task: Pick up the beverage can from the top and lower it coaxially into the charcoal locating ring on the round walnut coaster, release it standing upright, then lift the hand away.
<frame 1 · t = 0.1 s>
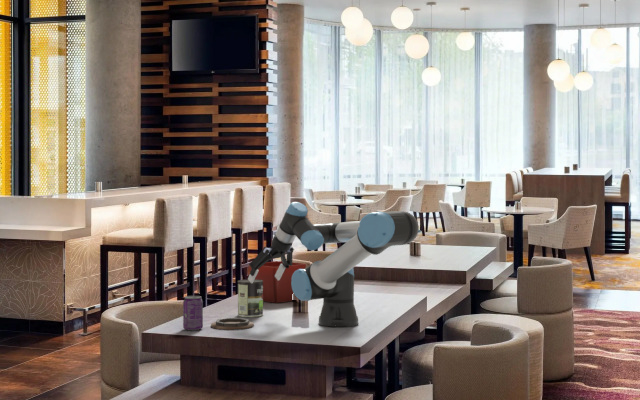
hand: (263, 279, 330), 15 cm above the table, tool tilted 35°, fingers open, 13 cm apart
plant pot: (277, 301, 378), on the table
coaster: (232, 326, 312), on the table
coffee can: (250, 315, 337), on the table
beverage can: (193, 330, 305), on the table
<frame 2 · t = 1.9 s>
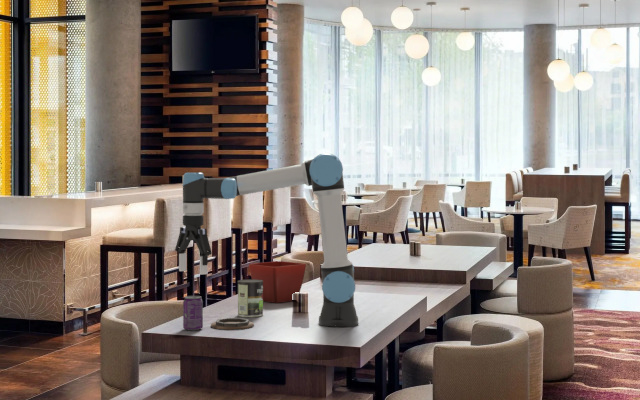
hand: (192, 272, 305), 21 cm above the table, tool pointing down, fingers open, 13 cm apart
nothing on the table moved.
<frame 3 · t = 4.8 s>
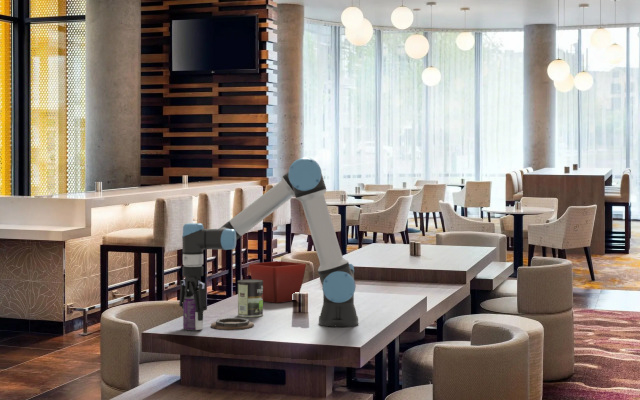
hand: (193, 327, 305), 1 cm above the table, tool pointing down, fingers closed on beverage can, 7 cm apart
beverage can: (193, 330, 305), on the table, touching gripper
everything else where it was.
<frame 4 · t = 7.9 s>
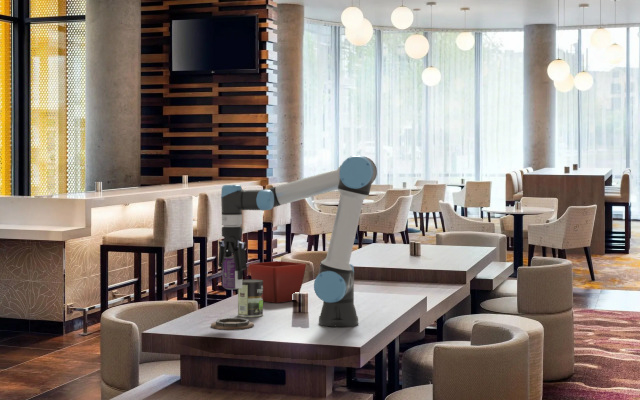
hand: (232, 287, 312), 15 cm above the table, tool pointing down, fingers closed on beverage can, 7 cm apart
beverage can: (232, 289, 312), point 14 cm above the table, touching gripper
everything else where it was.
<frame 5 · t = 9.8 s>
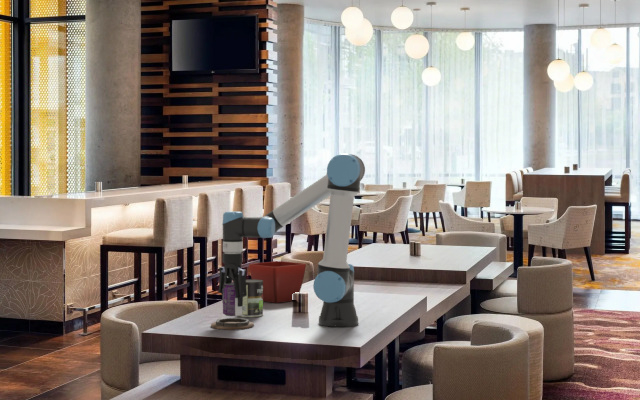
hand: (232, 313, 312), 5 cm above the table, tool pointing down, fingers closed on beverage can, 7 cm apart
beverage can: (232, 315, 312), point 4 cm above the table, touching gripper
everything else where it was.
when the fingers open (3 cm above the table, at t = 11.3 s): beverage can drops 2 cm, resting on coaster.
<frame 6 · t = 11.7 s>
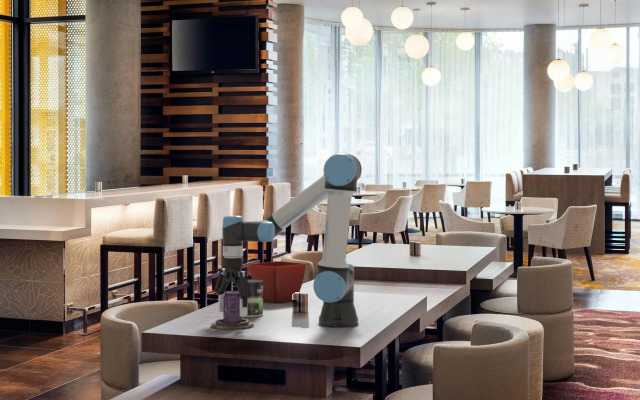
hand: (232, 313, 312), 5 cm above the table, tool pointing down, fingers open, 13 cm apart
beverage can: (232, 324, 312), point 1 cm above the table, touching coaster
everything else where it was.
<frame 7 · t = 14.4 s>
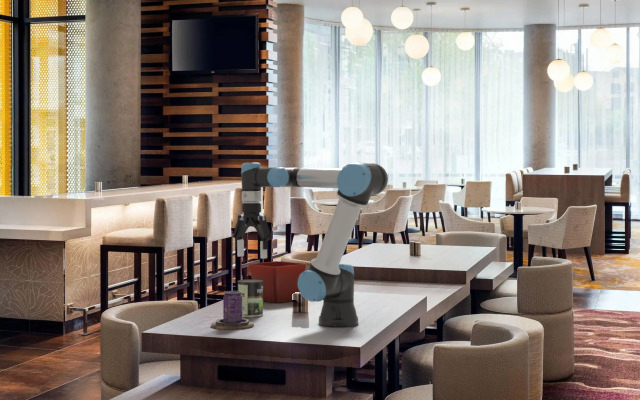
hand: (252, 257, 323), 25 cm above the table, tool pointing down, fingers open, 13 cm apart
nothing on the table moved.
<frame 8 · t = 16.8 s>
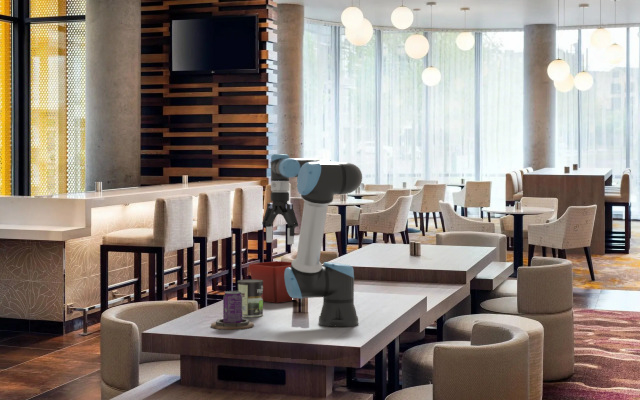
hand: (279, 243, 343), 29 cm above the table, tool pointing down, fingers open, 13 cm apart
nothing on the table moved.
at the end: beverage can 0.1 cm off-centre on the coaster, point 0.6 cm above the coaster's base; beverage can tilted 0°; the gripper is holding nothing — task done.
